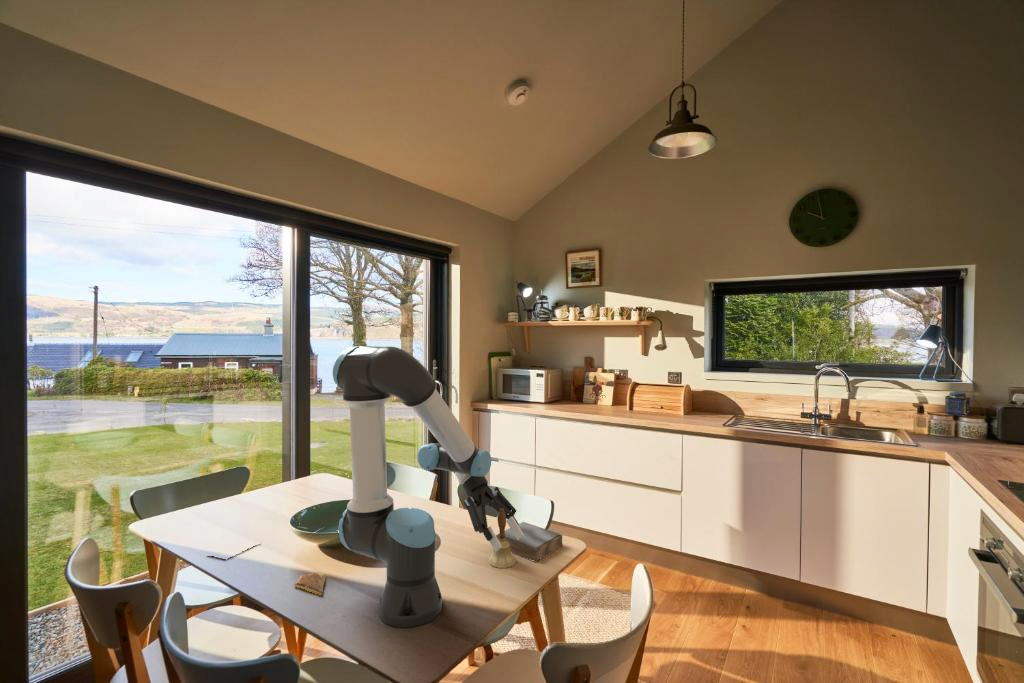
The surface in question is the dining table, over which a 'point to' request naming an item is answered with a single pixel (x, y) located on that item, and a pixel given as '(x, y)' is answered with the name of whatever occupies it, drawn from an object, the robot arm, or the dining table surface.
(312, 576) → the shard
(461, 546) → the dining table surface
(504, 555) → the hand bell
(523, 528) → the walnut stand
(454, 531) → the dining table surface
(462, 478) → the robot arm
